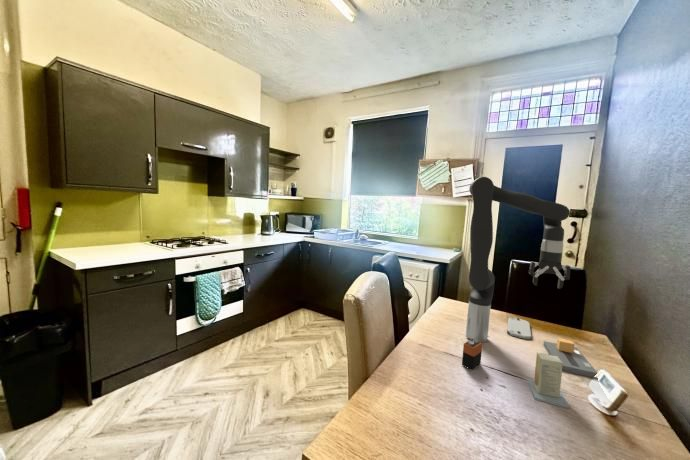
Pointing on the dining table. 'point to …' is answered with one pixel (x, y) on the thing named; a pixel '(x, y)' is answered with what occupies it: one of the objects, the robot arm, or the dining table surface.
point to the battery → (472, 354)
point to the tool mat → (548, 397)
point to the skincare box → (548, 374)
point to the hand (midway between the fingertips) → (547, 286)
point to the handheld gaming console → (519, 328)
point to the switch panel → (571, 360)
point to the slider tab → (565, 345)
